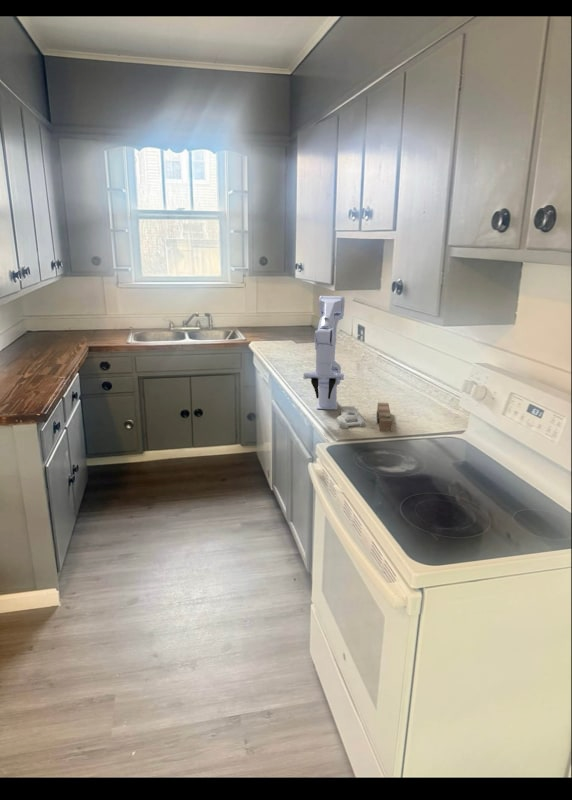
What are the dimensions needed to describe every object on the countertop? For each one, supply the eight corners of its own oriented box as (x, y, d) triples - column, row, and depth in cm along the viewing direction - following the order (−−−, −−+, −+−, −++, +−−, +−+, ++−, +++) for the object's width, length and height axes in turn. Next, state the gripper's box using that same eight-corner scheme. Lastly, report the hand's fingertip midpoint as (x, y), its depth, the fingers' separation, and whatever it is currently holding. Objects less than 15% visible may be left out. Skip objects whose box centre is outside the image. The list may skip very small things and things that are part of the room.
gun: (332, 404, 202) (357, 403, 203) (331, 412, 203) (357, 411, 204) (341, 423, 185) (368, 422, 186) (340, 431, 186) (368, 431, 187)
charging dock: (375, 412, 203) (376, 401, 201) (387, 412, 202) (388, 401, 201) (378, 431, 184) (378, 419, 182) (391, 431, 183) (392, 419, 182)
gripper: (302, 364, 186) (302, 400, 190) (343, 365, 184) (342, 401, 188) (304, 359, 193) (304, 394, 197) (344, 360, 191) (343, 395, 195)
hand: (323, 397), depth 193 cm, fingers open, 4 cm apart
